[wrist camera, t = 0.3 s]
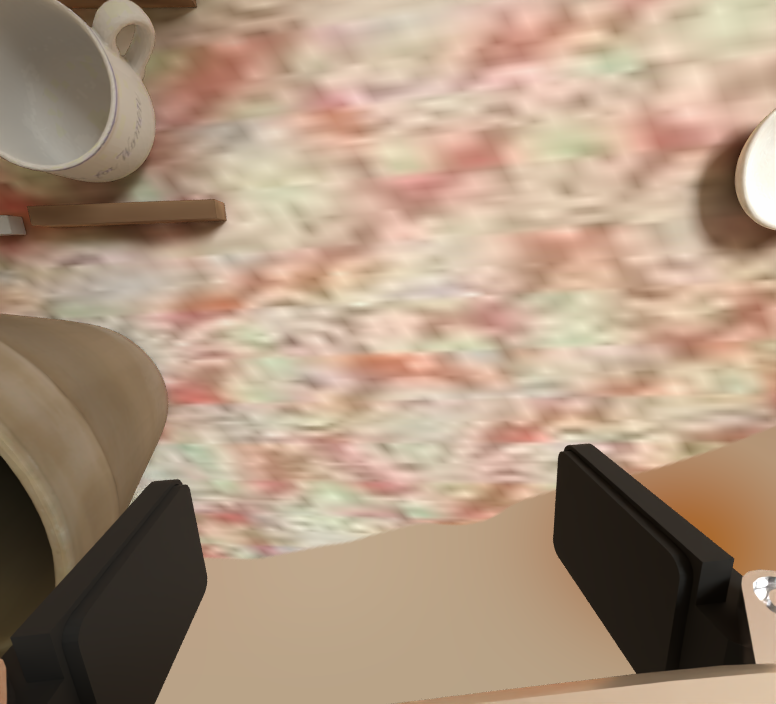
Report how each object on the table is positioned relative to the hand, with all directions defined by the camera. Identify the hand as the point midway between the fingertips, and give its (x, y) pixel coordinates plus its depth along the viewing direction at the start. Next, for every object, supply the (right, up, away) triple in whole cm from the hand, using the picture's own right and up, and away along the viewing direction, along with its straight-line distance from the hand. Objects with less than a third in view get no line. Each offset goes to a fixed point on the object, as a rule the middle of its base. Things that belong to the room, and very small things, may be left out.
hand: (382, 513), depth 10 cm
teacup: (-23, +24, +23) cm, 41 cm away
